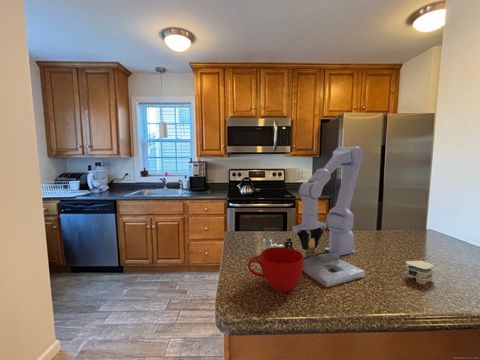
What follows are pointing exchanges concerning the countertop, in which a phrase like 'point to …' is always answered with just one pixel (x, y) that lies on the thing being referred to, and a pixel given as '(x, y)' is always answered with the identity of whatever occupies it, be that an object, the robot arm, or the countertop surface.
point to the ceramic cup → (280, 267)
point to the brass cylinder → (310, 247)
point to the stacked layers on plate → (420, 271)
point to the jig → (324, 262)
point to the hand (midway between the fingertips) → (309, 248)
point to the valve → (268, 244)
